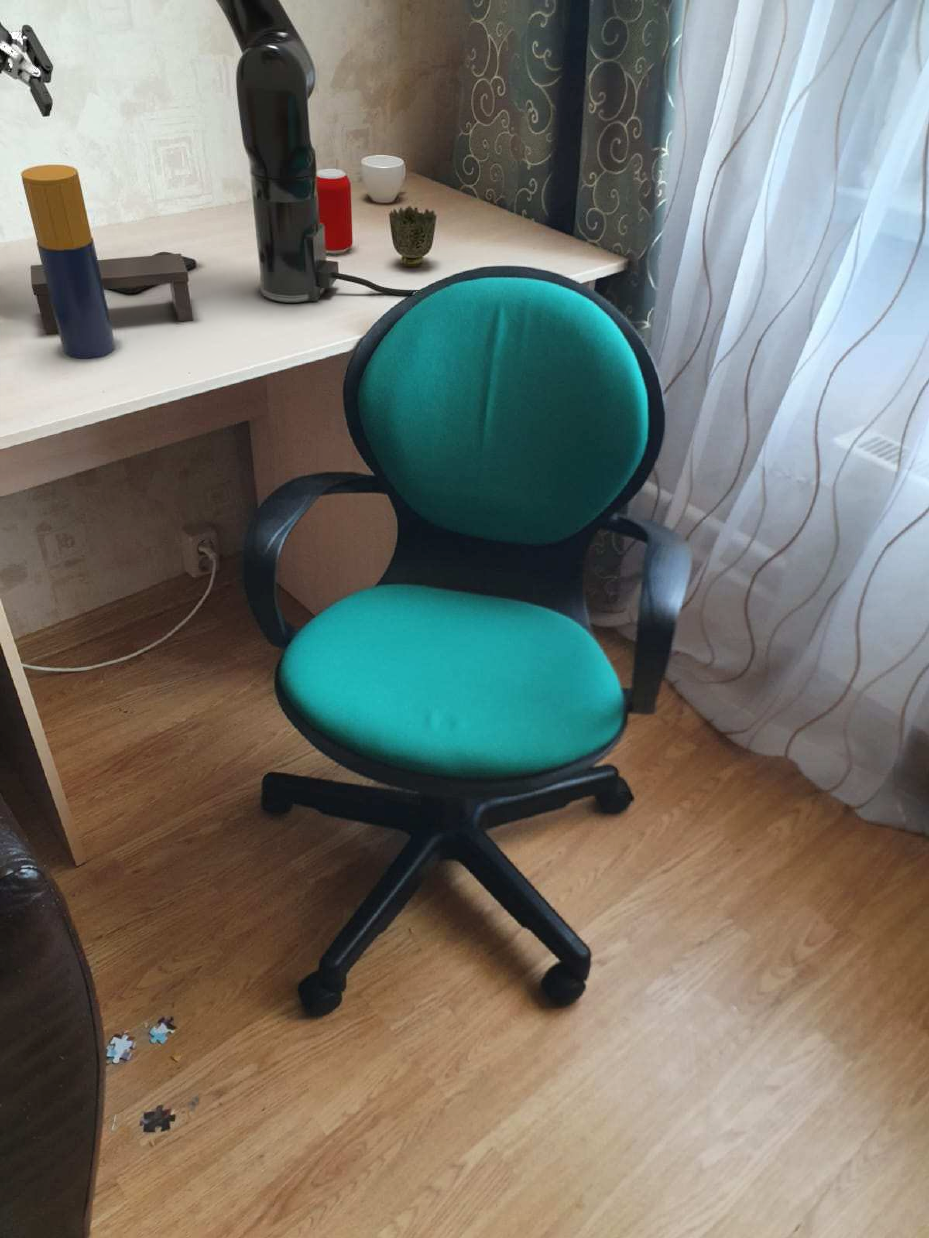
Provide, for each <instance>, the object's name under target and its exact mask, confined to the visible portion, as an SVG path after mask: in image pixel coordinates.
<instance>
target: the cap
mask: <svg viewBox="0 0 929 1238" xmlns="http://www.w3.org/2000/svg"><path fill="white" fill-rule="evenodd" d="M20 175H21V182H22V186H23V189H24V194H25V199H26V202H27V205H28V206H27V207H28V209H29V213H30V218H31V222H32V227H33V230H34V234H35V239H36V244H37V243H38V245H39V246H41V247H43V248H45V249H51V250H71V249H77V248H80V247H84V246H86V245H88V244H89V243H91V242H92V238H93V236H92V232H91V228H90V223H89V219H88V214H87V209H86V204H85V199H84V194H83V190H82V189H83V188H82V185H81V180H80V175H79V171H78V169H77V168H75V167H74V166H70V165H66V164H43V165H36V166H32V167H29V168H25V169H24V170H22V171H21V173H20Z"/></svg>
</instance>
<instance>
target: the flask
mask: <svg viewBox="0 0 929 1238" xmlns="http://www.w3.org/2000/svg"><path fill="white" fill-rule="evenodd" d="M36 246H37V250H38V255H39V258H40V262H41V265H42V267H43V271H44V275H45V279H46V283H47V287H48V291H49V295H50V299H51V303H52V307H53V311H54V315H55V319H56V323H57V327H58V331H59V334H58V335H59V339H60V343H61V348H62V351H63V354H64V355H66V356H67V357H69V358H73V359H76V360H77V359H78V360H90V359H91V360H92V359H98V358H101V357H103V356H107V355H109V354H110V353H112V352H113V351H114V350H115V349H116V342H115V337H114V336H115V335H114V332H113V327H112V321H111V317H110V312H109V308H108V304H107V303H108V302H107V299H106V293H105V289H104V288H103V283H102V279H101V274H100V269H99V264H98V260H99V259H98V257H97V256H98V254H97V251H96V246H95V241H94V238H93V237H92V242H91V243H89V244H88V245H86V246H84V247H80V248H77V249H71V250H51V249H45V248H43V247H41V246H39V245H38V243H37V242H36Z"/></svg>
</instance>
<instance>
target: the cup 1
mask: <svg viewBox="0 0 929 1238" xmlns="http://www.w3.org/2000/svg"><path fill="white" fill-rule="evenodd" d="M360 164H361V165H360V166H361V178H362V182H363V185H364V188H365V190H366V192H367V194H368V195H369V197H370V199H371V200H372V202H374V203H379V204H387V203H388V204H389V203H393V202H394V201H395V199H396V198H397V196H398V195H399V193H400V191H401V188H402V185H403V183H404V180H405V178H406V172H407V171H406V165H405V161H404V160H403V159H402V158H400V157H397V156H393V155H385V154H383V155H382V154H377V155H370V156H365V157H363V158H362V159H361V163H360Z"/></svg>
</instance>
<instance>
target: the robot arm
mask: <svg viewBox="0 0 929 1238" xmlns="http://www.w3.org/2000/svg"><path fill="white" fill-rule="evenodd" d="M215 1H216V2H217V4H218V6H219V8H220V9H221V11H222V13H223V14H224V17H225V18H226V21H227V23H228V25H229V26H230V28H231V31H232V33H233V35H234V38H235V40H236V43H237V45H238V47H239V49H240V52H241V56H240V58H239V59H238V63H237V66H236V70H235V86H236V87H235V88H236V98H237V108H238V117H239V124H240V130H241V131H240V132H241V137H242V145H243V148H244V151H245V154H246V156H247V159H248V166H249V176H250V177H249V178H250V186H251V196H252V207H253V217H254V227H255V236H256V238H255V239H256V247H257V255H258V257H257V259H258V267H259V279H260V292H261V295H262V296H263V297H265V298H266V299H269V300H271V301H275V302H279V303H290V304H291V303H304V302H317V301H318V300H319V299H320V297H322V295H323V294H324V292H325V291H326V290H327V289H331V288H332V286H333V285H334V283H336V281H337V280H340V281H345V282H349V283H353V284H357V285H361V286H364V287H367V288H368V289H371V290H373V291H375V292H378V293H381V294H386V295H390V296H391V295H392V296H400V297H401V296H403V297H412V296H411V295H412V294H413V293H414V292H416V291H419V290H420V289H402V288H401V289H400V288H392V287H386V286H381V285H378V284H376V283H374V282H373V281H370V280H368V279H365V278H362V277H357V276H355V275H350V274H346V273H342V272H341V273H340V272H339V261H334V260H327V253H326V248H325V230H324V224H323V223H320V221H319V203H318V184H317V171H318V169H317V168H318V167H317V166H318V165H317V154H316V149H315V148H314V146H313V143H312V139H311V130H310V116H309V99H310V97H311V96H312V94H313V92H314V89H315V84H316V70H315V65H314V64H315V63H314V61H313V58H312V55H311V54H310V51H309V50H308V48H307V45H306V44H305V42H304V41H303V39H302V36H300V33H299V32H298V30H297V29H296V27H295V25H294V24H293V21H292V20H291V19H290V17H289V14H288V13H287V11H286V10H285V8H284V6H283V4H282V3H281V1H280V0H215ZM13 45H15V46H17V47H18V48H19V50H20V51H21V52H20V51H19V50H17V49H16V48H14V47H13ZM22 53H23V54H22ZM24 54H26V55H27V57H28V59H29V60H30V61H28V60H27V59H26V58H25V56H24ZM9 59H10V61H11V63H10V62H9ZM50 59H51V58H49V56H48V54H47V52H46V51H45V49H44V47H43V45H42V43H41V42H40V40H39V38H38V36H37V34H36V33H35V31H34V29H33V27H32V26H30V25H29V24H23V25H22V26H21V30H14V31H9V30H8V29H7V28H5V27H4V25H3V24H2V23H1V21H0V75H2V72H3V73H4V74H6V75H8V76H9V77H10V78H12V79H13V80H19V81H21V82H22V83H23V84H25V85H26V86H27V87H29V92H30V94H31V96H32V98H33V100H34V102H35V104H36V106H37V108H38V110H39V112H40V114H41V116H42V117H43V118H46V117H50V115H51V112H52V110H53V104H54V102H53V98H52V96H51V93H50V91H49V90H48V88H47V85H46V84H49V83H51V81H52V74H53V70H54V65H53V63H52V61H51V60H50Z"/></svg>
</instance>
